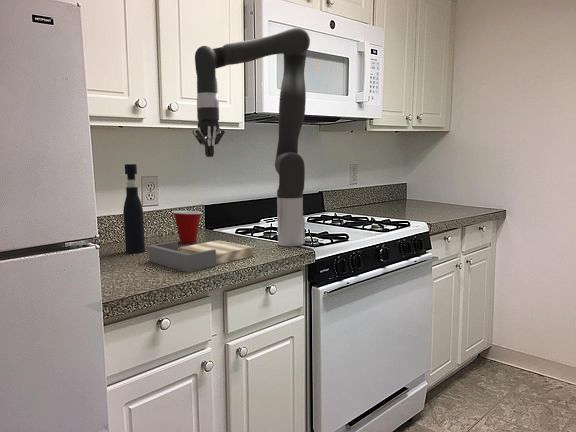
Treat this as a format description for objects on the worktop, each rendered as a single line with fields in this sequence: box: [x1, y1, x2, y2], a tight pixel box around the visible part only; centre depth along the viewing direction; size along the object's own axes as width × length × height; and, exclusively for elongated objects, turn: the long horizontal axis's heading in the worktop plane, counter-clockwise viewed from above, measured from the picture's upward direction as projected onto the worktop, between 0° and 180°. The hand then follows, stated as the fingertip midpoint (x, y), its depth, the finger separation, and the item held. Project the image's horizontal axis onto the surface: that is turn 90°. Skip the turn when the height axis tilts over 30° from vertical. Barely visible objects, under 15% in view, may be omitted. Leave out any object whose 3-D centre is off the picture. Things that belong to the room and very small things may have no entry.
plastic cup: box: [172, 210, 203, 245], centre depth 183 cm, size 11×11×12 cm
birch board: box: [179, 239, 254, 265], centre depth 160 cm, size 16×18×3 cm
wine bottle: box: [123, 163, 146, 254], centre depth 166 cm, size 6×6×30 cm
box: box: [147, 240, 217, 273], centre depth 150 cm, size 10×21×5 cm, turn 46°
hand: (209, 156), depth 173 cm, fingers closed
